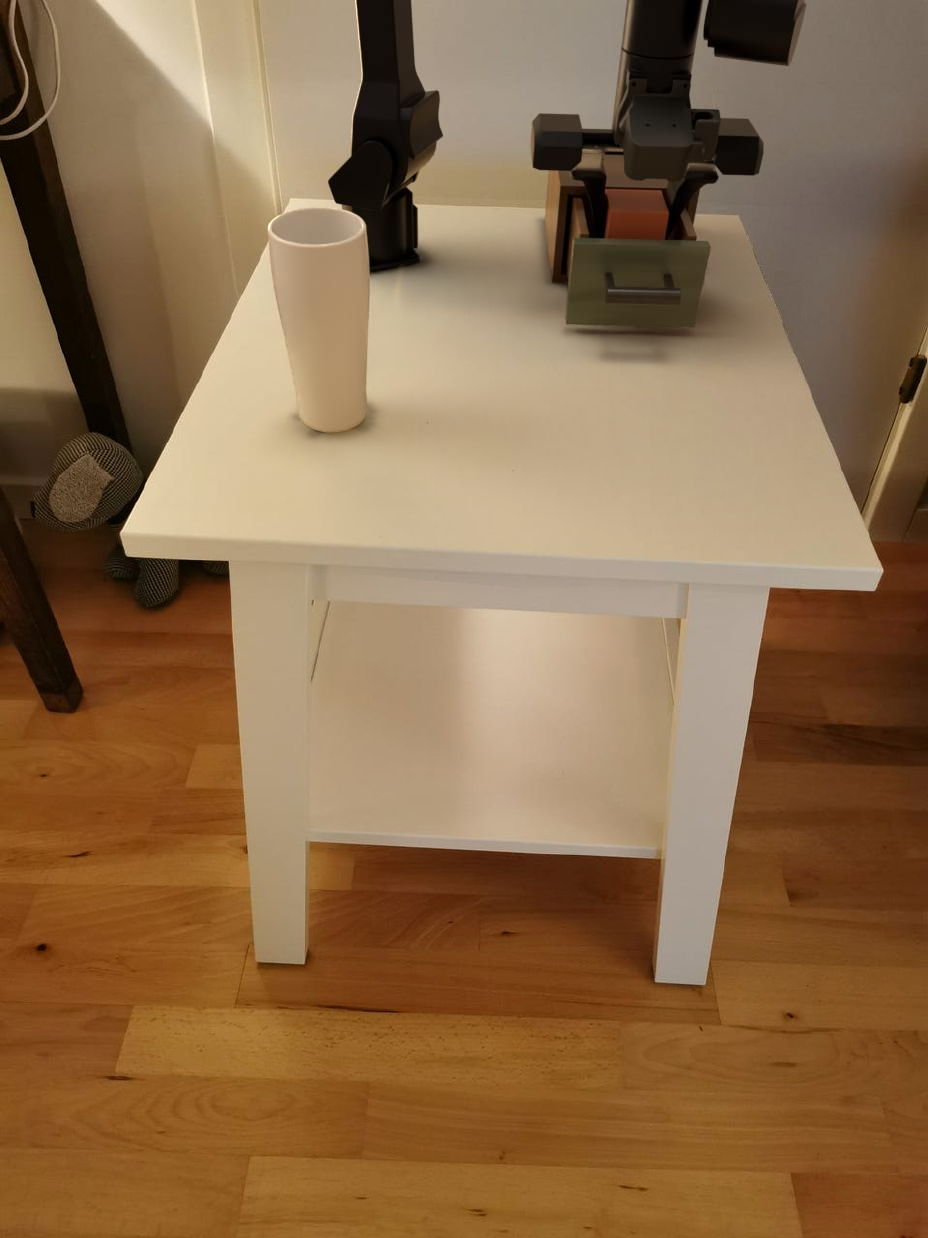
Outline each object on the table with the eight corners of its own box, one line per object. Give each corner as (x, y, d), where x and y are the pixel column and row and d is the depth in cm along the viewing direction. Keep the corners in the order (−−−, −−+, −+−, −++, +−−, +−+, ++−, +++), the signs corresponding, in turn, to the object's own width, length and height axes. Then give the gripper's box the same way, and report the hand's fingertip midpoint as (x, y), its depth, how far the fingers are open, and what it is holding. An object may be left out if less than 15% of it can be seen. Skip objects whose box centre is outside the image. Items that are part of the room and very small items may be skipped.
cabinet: (682, 285, 94) (700, 188, 87) (551, 282, 94) (560, 185, 87) (661, 224, 104) (676, 133, 98) (544, 221, 104) (551, 130, 98)
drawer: (702, 352, 83) (720, 269, 78) (569, 349, 83) (577, 265, 77) (672, 261, 95) (686, 185, 90) (556, 258, 95) (563, 181, 90)
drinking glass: (363, 446, 73) (351, 251, 63) (277, 434, 74) (251, 240, 64) (386, 399, 78) (378, 210, 67) (305, 389, 79) (285, 201, 68)
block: (659, 269, 86) (669, 212, 82) (603, 268, 86) (610, 210, 82) (652, 245, 89) (661, 189, 86) (598, 244, 89) (605, 188, 86)
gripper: (543, 76, 70) (529, 283, 81) (801, 83, 70) (752, 288, 81) (536, 35, 78) (524, 228, 89) (768, 41, 78) (727, 233, 89)
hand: (629, 245), depth 87 cm, fingers closed on block, 5 cm apart
